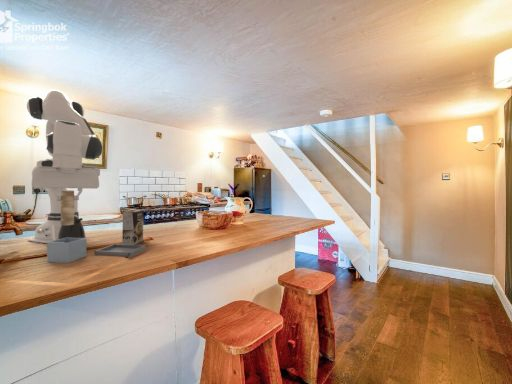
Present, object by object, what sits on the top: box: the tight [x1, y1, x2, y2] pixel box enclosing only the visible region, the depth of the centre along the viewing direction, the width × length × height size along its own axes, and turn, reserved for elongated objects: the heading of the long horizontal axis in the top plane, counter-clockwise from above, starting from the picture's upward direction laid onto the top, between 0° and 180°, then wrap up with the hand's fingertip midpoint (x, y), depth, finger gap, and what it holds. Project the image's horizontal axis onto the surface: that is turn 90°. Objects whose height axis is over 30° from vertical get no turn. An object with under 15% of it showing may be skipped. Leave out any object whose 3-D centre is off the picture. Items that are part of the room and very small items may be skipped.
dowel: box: [61, 189, 75, 225], centre depth 93 cm, size 4×4×13 cm
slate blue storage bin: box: [46, 237, 87, 264], centre depth 93 cm, size 8×8×8 cm
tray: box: [94, 243, 147, 259], centre depth 105 cm, size 15×12×2 cm
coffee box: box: [121, 210, 144, 245], centre depth 123 cm, size 9×6×16 cm
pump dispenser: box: [57, 216, 87, 240], centre depth 108 cm, size 10×10×15 cm
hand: (67, 200), depth 93 cm, fingers closed on dowel, 4 cm apart
